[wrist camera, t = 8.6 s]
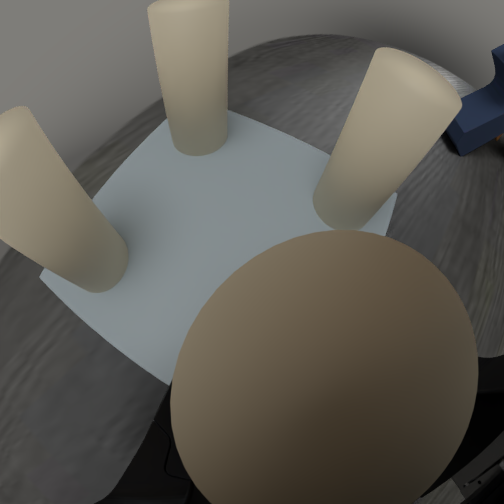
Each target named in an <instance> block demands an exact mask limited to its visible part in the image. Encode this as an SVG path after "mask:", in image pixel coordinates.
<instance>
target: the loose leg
mask: <svg viewBox="0 0 504 504" xmlns="http://www.w3.org/2000/svg"><path fill="white" fill-rule="evenodd" d="M477 385H478V354H477V347H476V340H475V336H474V332H473V328H472V325H471V322H470V319H469V316H468V314H467V311H466V309H465V307H464V305H463V303H462V301H461V299H460V297H459V295H458V294H457V292H456V291H455V289H454V288H453V286H452V285H451V283H450V282H449V281H448V279H447V278H446V277H445V276H444V275H443V274H442V273H441V272H440V270H439V269H438V268H437V267H436V266H435V265H434V264H432V263H431V262H430V261H429V260H428V259H426V258H425V257H424V256H423V255H421V254H420V253H418V252H417V251H415V250H413V249H412V248H410V247H409V246H407V245H405V244H403V243H400V242H398V241H396V240H394V239H392V238H388V237H385V236H382V235H379V234H375V233H370V232H364V231H357V230H329V231H321V232H314V233H310V234H306V235H302V236H298V237H294V238H292V239H289V240H287V241H285V242H282V243H280V244H277V245H275V246H273V247H271V248H269V249H267V250H266V251H264V252H262V253H260V254H258V255H257V256H255V257H253V258H252V259H251V260H249V261H248V262H247V263H245V264H244V265H243V266H241V267H240V268H239V269H237V270H236V271H235V272H234V273H233V274H232V275H231V276H229V277H228V278H227V279H226V280H225V281H224V282H223V283H222V284H221V285H220V286H219V287H218V288H217V289H216V291H215V292H214V293H213V294H212V296H211V297H210V298H209V299H208V301H207V302H206V303H205V305H204V306H203V307H202V308H201V310H200V312H199V313H198V315H197V317H196V318H195V320H194V322H193V324H192V325H191V327H190V329H189V330H188V333H187V335H186V338H185V340H184V342H183V345H182V347H181V350H180V352H179V355H178V359H177V363H176V366H175V370H174V374H173V379H172V389H171V399H170V407H171V424H172V430H173V434H174V439H175V443H176V447H177V450H178V453H179V455H180V458H181V460H182V462H183V465H184V467H185V469H186V471H187V472H188V474H189V476H190V477H191V479H192V481H193V482H194V484H195V485H196V487H197V488H198V489H199V490H200V491H201V493H202V494H203V495H204V496H205V497H206V498H207V499H208V501H209V502H210V503H212V504H412V503H413V502H414V501H415V500H417V499H418V498H419V497H420V496H421V495H422V494H423V493H424V492H425V491H426V490H427V489H429V487H430V486H431V485H432V484H433V483H434V482H435V481H436V480H437V479H438V477H439V476H440V475H441V474H442V472H443V471H444V470H445V468H446V467H447V465H448V464H449V463H450V461H451V460H452V458H453V456H454V455H455V453H456V451H457V449H458V448H459V446H460V444H461V442H462V440H463V437H464V435H465V433H466V430H467V428H468V425H469V422H470V419H471V416H472V412H473V409H474V404H475V399H476V394H477Z"/></svg>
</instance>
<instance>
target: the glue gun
mask: <svg viewBox="0 0 504 504" xmlns="http://www.w3.org/2000/svg"><path fill="white" fill-rule="evenodd" d="M491 52H492V56H493V60H494V65H495V77H494V79H493V81H492V82H491V83H490V84H488V85H487V86H486V87H484V88H481V89H479V90H477V91H475V92H473V93H471V94H469V95H467V96H465V97H463V98H461V102H462V108H461V109H460V111H459V112H458V114H457V115H456V116H455V118H454V119H453V120H452V122H451V123H450V124H449V126H448V127H447V128H446V130H445V131H446V133H447V134H448V136H449V137H450V139H451V141H452V142H453V144H454V146H455V147H456V149H457V151H458V153H459V154H460V156H464V155H465V154H467V153H469V152H471V151H473V150H474V149H476V148H478V147H480V146H481V145H483V144H485V143H487V142H489V141H490V140H492V139H494V138H495V139H496V141H497V140H498V139H499V138H500V136H501V135H502V134H503V133H504V44H503V45H501V46H499V47H497V48H495V49H493V50H492V51H491Z"/></svg>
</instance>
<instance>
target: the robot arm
mask: <svg viewBox="0 0 504 504" xmlns="http://www.w3.org/2000/svg"><path fill="white" fill-rule="evenodd" d="M172 379H173V378H172ZM171 389H172V381H171V383H170V385H169V387H168V389H167V391H166V394H165V396H164V398H163V400H162V402H161V404H160V407H159V409H158V411H157V413H156V415H155V417H154V421H153V422H152V424H151V426H150V428H149V430H148V432H147V434H146V436H145V438H144V440H143V443H142V444H141V446H140V448H139V449H138V451H137V453H136V455H135V456H134V458H133V460H132V461H131V463H130V464H129V466H128V468H127V469H126V471H125V472H124V474H123V476H122V477H121V479H120V480H119V482H118V484H117V485H116V487H115V488H114V489H113V490H112V492H111V493H110V494H109V495H107V496H106V497H105V498H104V499H102V500H100V501H98V502H96V503H94V504H212V503H210V502H209V501H208V499H207V498H206V497H205V496H204V495H203V494H202V493H201V491H200V490H199V489H198V488H197V487H196V485H195V484H194V482H193V481H192V479H191V477H190V476H189V474H188V472H187V471H186V469H185V467H184V465H183V462H182V460H181V458H180V455H179V453H178V450H177V447H176V443H175V439H174V434H173V430H172V424H171V407H170V399H171ZM450 478H452V479H453V481H454V482H455V483H456V485H457V486H458V488H459V489H460V492H461V494H462V495H463V496H464V498H465V500H464V501H463V502H462V503H461V504H504V355H501V356H498V357H493V358H482V357H478V385H477V394H476V399H475V404H474V409H473V412H472V416H471V419H470V422H469V425H468V428H467V430H466V433H465V435H464V437H463V440H462V442H461V444H460V446H459V448H458V449H457V451H456V453H455V455H454V456H453V458H452V460H451V461H450V463H449V464H448V465H447V467H446V468H445V470H444V471H443V472H442V474H441V475H440V476H439V477H438V479H437V480H436V481H435V482H434V483H433V484H432V485H431V486H430V487H429V489H427V490H426V491H425V492H424V493H423V494H422V495H421V496H420V497H421V498H422V497H424V496H425V495H427V494H428V493H430V492H431V491H433V490H434V489H436V488H437V487H439V486H440V485H441V484H443V483H444V482H446V481H447V480H448V479H450Z"/></svg>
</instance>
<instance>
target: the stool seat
mask: <svg viewBox="0 0 504 504" xmlns="http://www.w3.org/2000/svg"><path fill="white" fill-rule="evenodd" d="M147 11H148V17H149V24H150V30H151V36H152V43H153V48H154V54H155V60H156V65H157V70H158V75H159V81H160V86H161V91H162V96H163V100H164V105H165V110H166V115H167V119H166V120H165V121H164V122H163V123H162V124H161V125H160V126H158V127H157V128H156V129H155V130H154V131H153V132H152V133H151V134H150V135H149V136H148V137H147V138H146V139H145V140H144V141H143V142H142V143H141V144H140V145H139V146H138V147H137V149H136V150H135V151H134V152H133V153H132V154H131V155H130V156H129V157H128V158H127V159H126V160H125V161H124V162H123V164H122V165H121V166H120V167H119V168H118V169H117V170H116V171H115V173H114V174H113V175H112V176H111V177H110V178H109V180H108V181H107V182H106V183H105V184H104V186H103V187H102V188H101V189H100V190H99V192H98V193H97V194H96V195H95V197H94V198H93V199H92V200H91V199H90V197H89V196H88V195H87V193H86V192H85V191H84V189H83V188H82V187H81V185H80V184H79V183H78V181H77V180H76V179H75V177H74V176H73V175H72V173H71V172H70V170H69V169H68V168H67V166H66V165H65V164H64V162H63V161H62V159H61V158H60V156H59V155H58V153H57V152H56V150H55V149H54V148H53V146H52V144H51V143H50V141H49V140H48V139H47V137H46V135H45V134H44V132H43V131H42V129H41V128H40V126H39V125H38V123H37V121H36V120H35V118H34V116H33V115H32V113H31V111H30V110H29V108H27V107H25V106H18V107H15V108H12V109H10V110H7V111H6V112H4V113H3V114H1V115H0V239H1V240H3V241H4V242H5V243H7V244H8V245H10V246H11V247H13V248H14V249H16V250H18V251H19V252H21V253H22V254H24V255H25V256H27V257H28V258H30V259H32V260H33V261H35V262H37V263H38V264H40V265H41V266H43V267H45V268H44V270H43V272H42V273H41V275H40V279H41V280H42V281H43V282H44V283H45V284H46V285H47V286H48V287H49V288H50V289H51V290H52V291H53V292H54V293H55V294H56V295H57V296H58V297H59V298H60V299H61V300H62V301H63V302H64V303H65V304H66V305H67V306H68V307H69V308H70V309H71V310H72V311H73V312H75V313H76V314H77V315H78V316H79V317H80V318H81V319H82V320H83V321H84V322H86V323H87V324H88V325H89V326H90V327H91V328H92V329H94V330H95V331H96V332H97V333H98V334H100V335H101V336H102V337H103V338H104V339H106V340H107V341H108V342H109V343H111V344H112V345H113V346H114V347H116V348H117V349H118V350H119V351H121V352H122V353H123V354H125V355H126V356H127V357H129V358H130V359H131V360H133V361H134V362H135V363H137V364H138V365H139V366H141V367H142V368H144V369H145V370H146V371H148V372H149V373H151V374H152V375H154V376H155V377H157V378H158V379H160V380H161V381H163V382H164V383H166V384H167V385H170V383H171V381H172V378H173V374H174V370H175V366H176V363H177V359H178V355H179V352H180V350H181V347H182V345H183V342H184V340H185V338H186V335H187V333H188V330H189V329H190V327H191V325H192V324H193V322H194V320H195V318H196V317H197V315H198V313H199V312H200V310H201V308H202V307H203V306H204V305H205V303H206V302H207V301H208V299H209V298H210V297H211V296H212V294H213V293H214V292H215V291H216V289H217V288H218V287H219V286H220V285H221V284H222V283H223V282H224V281H225V280H226V279H227V278H228V277H229V276H231V275H232V274H233V273H234V272H235V271H236V270H237V269H239V268H240V267H241V266H243V265H244V264H245V263H247V262H248V261H249V260H251V259H252V258H253V257H255V256H257V255H258V254H260V253H262V252H264V251H266V250H267V249H269V248H271V247H273V246H275V245H277V244H280V243H282V242H285V241H287V240H289V239H292V238H294V237H298V236H302V235H306V234H310V233H314V232H321V231H329V230H357V231H364V232H370V233H375V234H379V235H382V236H385V235H386V232H387V229H388V225H389V222H390V219H391V215H392V212H393V209H394V205H395V201H396V198H397V193H395V191H396V190H397V189H398V187H399V186H400V185H401V184H402V183H403V182H404V180H405V179H406V178H407V177H408V176H409V174H410V173H411V172H412V171H413V170H414V168H415V167H416V166H417V165H418V164H419V162H420V161H421V160H422V159H423V157H424V156H425V155H426V154H427V152H428V151H429V150H430V149H431V147H432V146H433V145H434V144H435V142H436V141H437V140H438V139H439V137H440V136H441V135H442V133H443V132H444V131H445V130H446V128H447V127H448V126H449V124H450V123H451V122H452V120H453V119H454V118H455V116H456V115H457V114H458V112H459V111H460V109H461V108H462V102H461V99H460V97H459V95H458V93H457V92H456V90H455V89H454V88H453V86H452V85H451V84H450V83H449V82H448V81H447V80H446V79H445V78H444V77H443V76H442V75H441V74H440V73H439V72H437V71H436V70H435V69H433V68H432V67H431V66H429V65H428V64H426V63H425V62H423V61H422V60H420V59H418V58H416V57H414V56H412V55H410V54H408V53H406V52H403V51H400V50H397V49H393V48H386V47H383V48H378V49H377V50H376V51H375V54H374V56H373V58H372V61H371V63H370V66H369V68H368V71H367V73H366V76H365V78H364V80H363V83H362V85H361V87H360V90H359V92H358V95H357V97H356V99H355V102H354V104H353V106H352V109H351V111H350V113H349V116H348V118H347V120H346V122H345V125H344V127H343V129H342V132H341V134H340V136H339V138H338V141H337V143H336V145H335V147H334V149H333V152H332V154H331V155H329V154H327V153H325V152H323V151H321V150H319V149H317V148H315V147H313V146H311V145H309V144H307V143H305V142H303V141H301V140H298V139H296V138H294V137H292V136H290V135H288V134H285V133H283V132H281V131H279V130H276V129H274V128H272V127H269V126H267V125H265V124H262V123H260V122H257V121H255V120H253V119H250V118H248V117H245V116H242V115H240V114H237V113H235V112H232V111H229V110H227V96H228V27H229V0H158V1H156V2H154V3H152V4H151V5H150V6H149V7H148V8H147Z"/></svg>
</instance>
